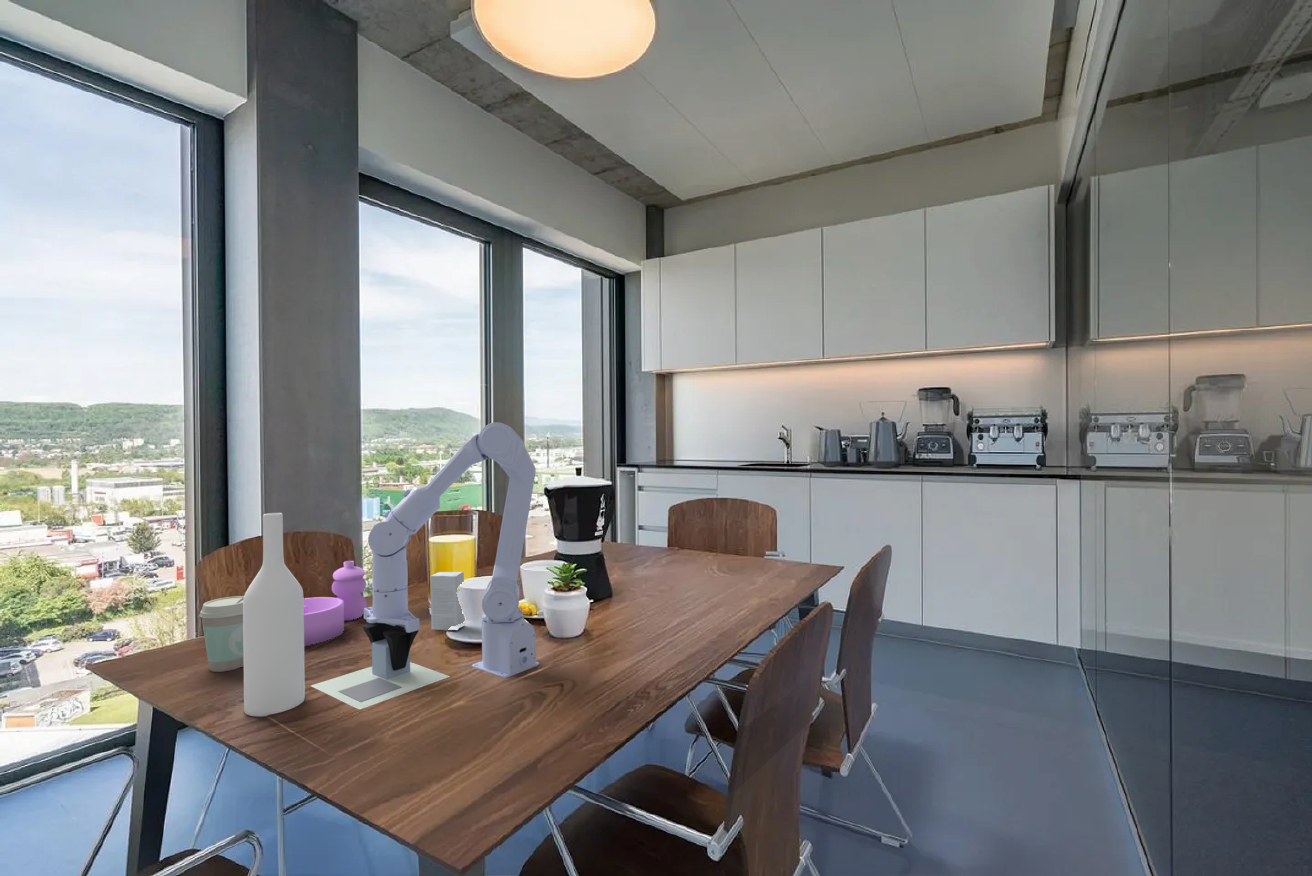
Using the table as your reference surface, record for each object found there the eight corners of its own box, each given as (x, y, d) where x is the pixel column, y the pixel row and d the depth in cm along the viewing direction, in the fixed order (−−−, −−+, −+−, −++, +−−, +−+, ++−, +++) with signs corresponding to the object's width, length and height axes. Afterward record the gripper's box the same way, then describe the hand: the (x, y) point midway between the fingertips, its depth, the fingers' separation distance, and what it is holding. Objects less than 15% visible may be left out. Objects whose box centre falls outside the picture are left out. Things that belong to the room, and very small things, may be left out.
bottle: (258, 722, 91) (255, 518, 91) (234, 709, 96) (232, 515, 96) (314, 702, 98) (312, 512, 98) (290, 691, 103) (287, 509, 103)
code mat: (450, 678, 107) (450, 676, 107) (359, 711, 94) (359, 709, 94) (398, 659, 117) (398, 657, 117) (310, 687, 104) (310, 685, 104)
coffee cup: (228, 676, 109) (227, 608, 109) (187, 673, 111) (187, 606, 111) (267, 659, 118) (266, 596, 118) (229, 656, 120) (228, 594, 120)
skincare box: (465, 625, 138) (464, 571, 138) (457, 631, 133) (456, 576, 133) (439, 625, 138) (438, 571, 138) (430, 631, 134) (429, 575, 134)
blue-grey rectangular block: (410, 671, 110) (409, 640, 110) (386, 679, 106) (385, 647, 106) (396, 666, 112) (395, 636, 112) (372, 674, 109) (371, 642, 109)
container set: (306, 651, 123) (305, 584, 123) (242, 645, 126) (242, 581, 126) (388, 615, 147) (387, 559, 147) (333, 612, 151) (332, 557, 151)
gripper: (346, 587, 110) (347, 663, 110) (391, 599, 102) (392, 682, 102) (384, 579, 116) (385, 652, 116) (429, 590, 107) (430, 669, 107)
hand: (391, 665), depth 109 cm, fingers closed on blue-grey rectangular block, 4 cm apart
